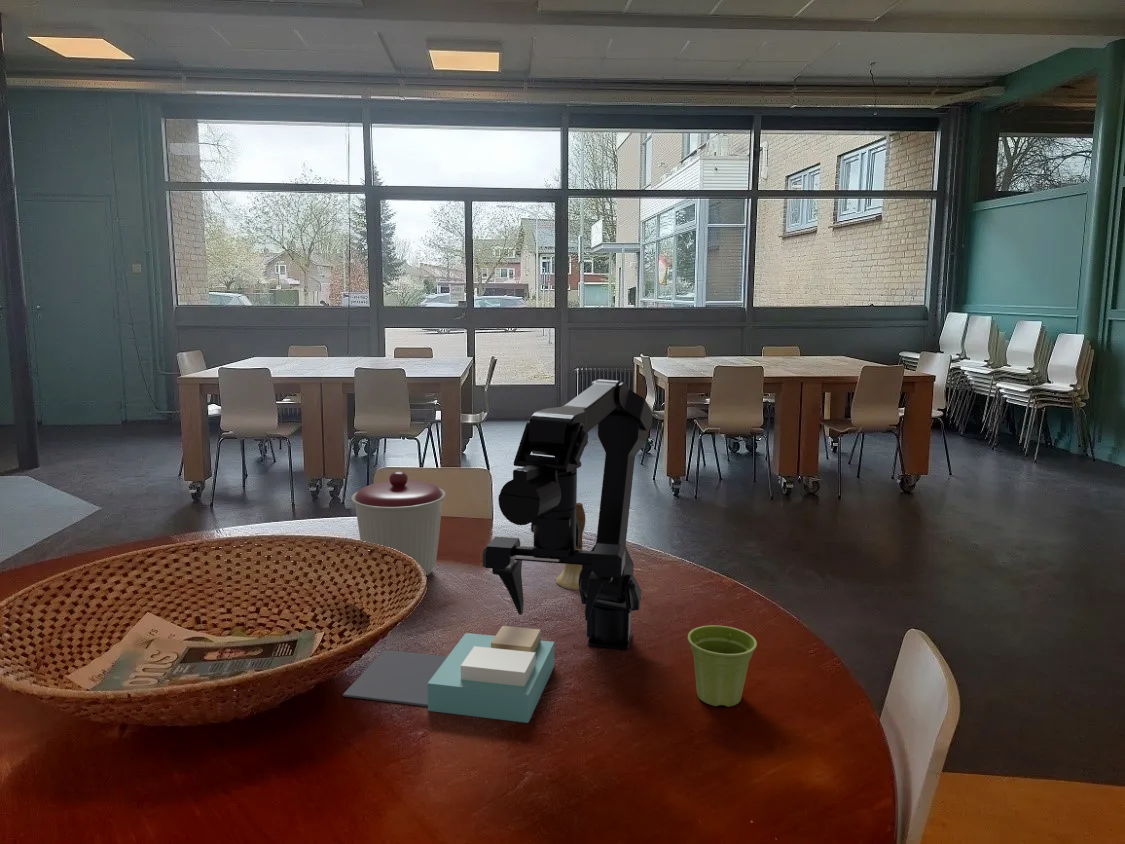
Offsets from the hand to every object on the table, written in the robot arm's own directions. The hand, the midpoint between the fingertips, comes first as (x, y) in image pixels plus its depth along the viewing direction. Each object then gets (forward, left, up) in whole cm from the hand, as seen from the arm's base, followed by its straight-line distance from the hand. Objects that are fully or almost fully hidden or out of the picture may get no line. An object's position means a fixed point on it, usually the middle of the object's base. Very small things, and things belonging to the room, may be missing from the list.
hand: (553, 616), depth 107 cm
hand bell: (+5, -45, -13) cm, 47 cm away
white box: (+7, +1, -8) cm, 11 cm away
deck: (+9, -2, -12) cm, 15 cm away
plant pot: (-23, -6, -13) cm, 27 cm away
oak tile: (+7, -6, -8) cm, 12 cm away
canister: (+40, -41, -13) cm, 58 cm away
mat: (+22, -2, -12) cm, 26 cm away
